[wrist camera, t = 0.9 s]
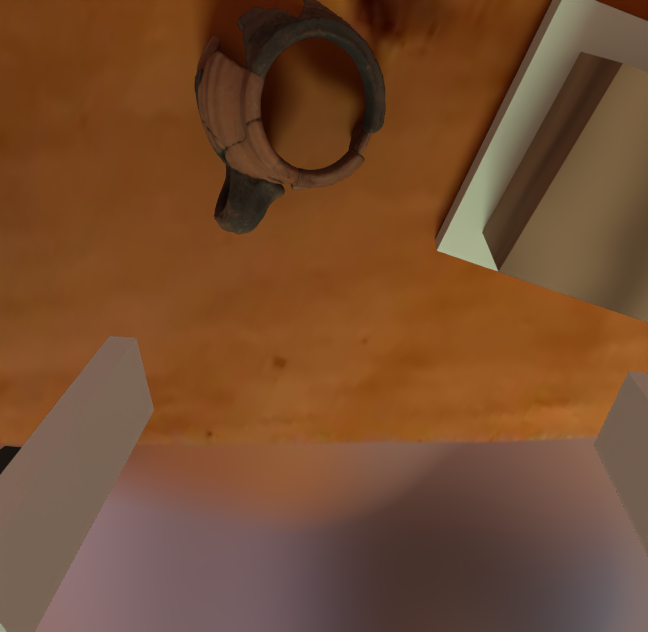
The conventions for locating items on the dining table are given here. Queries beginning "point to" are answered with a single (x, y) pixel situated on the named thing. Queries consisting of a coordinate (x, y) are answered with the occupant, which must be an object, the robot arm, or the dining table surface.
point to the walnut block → (583, 193)
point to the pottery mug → (245, 110)
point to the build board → (535, 110)
